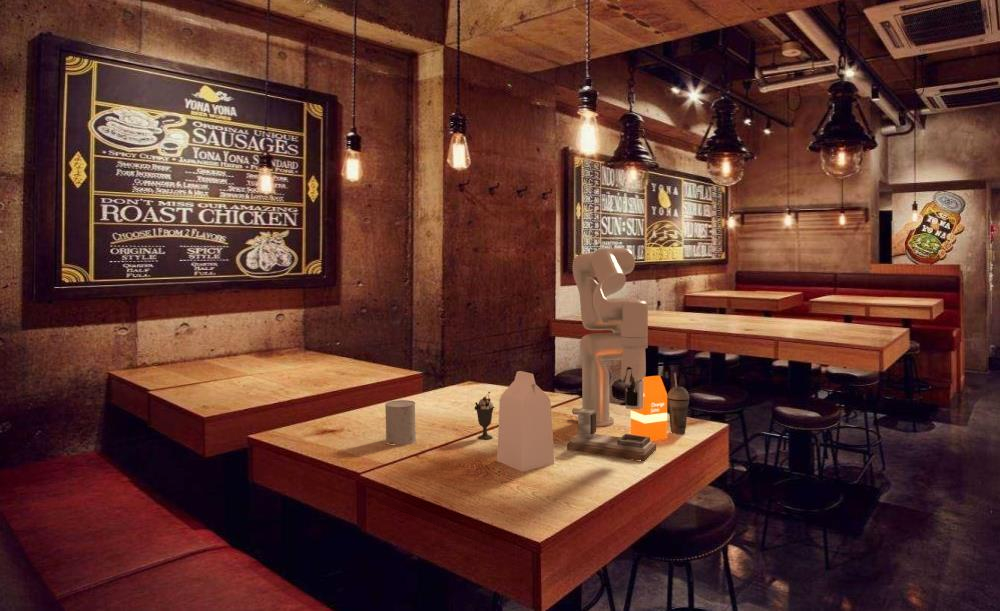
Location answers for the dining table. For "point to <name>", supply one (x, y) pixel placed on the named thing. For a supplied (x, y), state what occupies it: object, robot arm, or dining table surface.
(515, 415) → the milk
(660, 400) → the orange juice
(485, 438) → the sundae
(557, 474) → the dining table surface
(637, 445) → the rail board
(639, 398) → the white block dark cap
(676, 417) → the beverage cup
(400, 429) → the gray can
